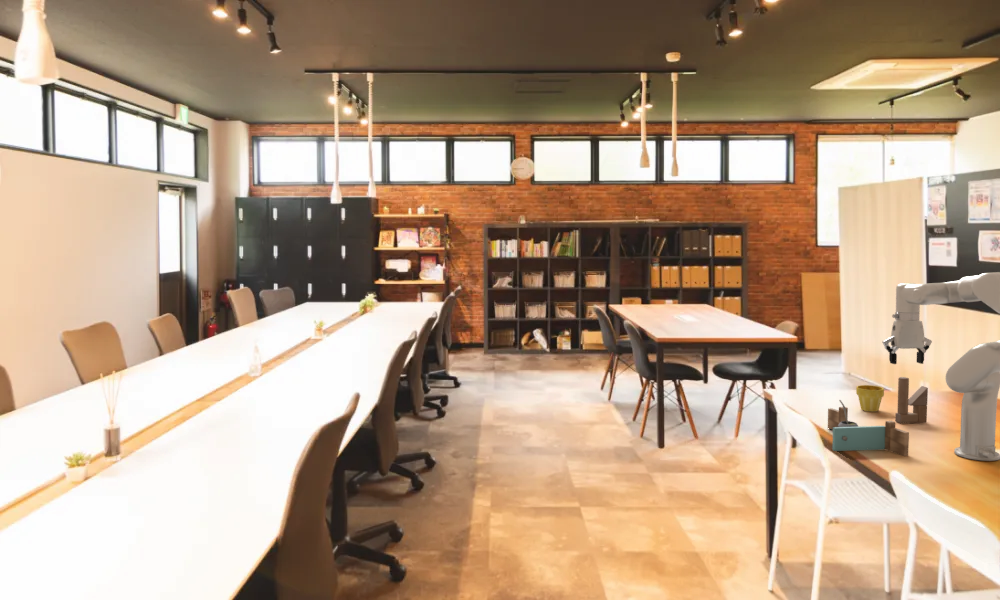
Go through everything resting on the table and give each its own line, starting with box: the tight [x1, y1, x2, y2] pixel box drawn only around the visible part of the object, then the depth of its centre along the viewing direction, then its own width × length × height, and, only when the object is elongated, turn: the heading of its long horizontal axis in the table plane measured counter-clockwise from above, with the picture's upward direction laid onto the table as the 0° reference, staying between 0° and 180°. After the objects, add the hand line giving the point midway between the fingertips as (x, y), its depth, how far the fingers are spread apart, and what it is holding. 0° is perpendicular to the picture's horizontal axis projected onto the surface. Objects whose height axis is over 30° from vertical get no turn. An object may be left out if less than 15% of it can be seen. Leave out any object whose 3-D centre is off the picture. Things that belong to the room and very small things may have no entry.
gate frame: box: [827, 406, 910, 457], centre depth 247 cm, size 36×2×10 cm, turn 15°
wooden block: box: [894, 376, 929, 424], centre depth 271 cm, size 4×11×18 cm, turn 93°
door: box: [831, 425, 885, 452], centre depth 237 cm, size 18×2×8 cm, turn 93°
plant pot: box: [855, 384, 885, 413], centre depth 292 cm, size 10×10×10 cm
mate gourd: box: [838, 399, 860, 427], centre depth 243 cm, size 8×8×15 cm
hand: (906, 363), depth 251 cm, fingers open, 9 cm apart
